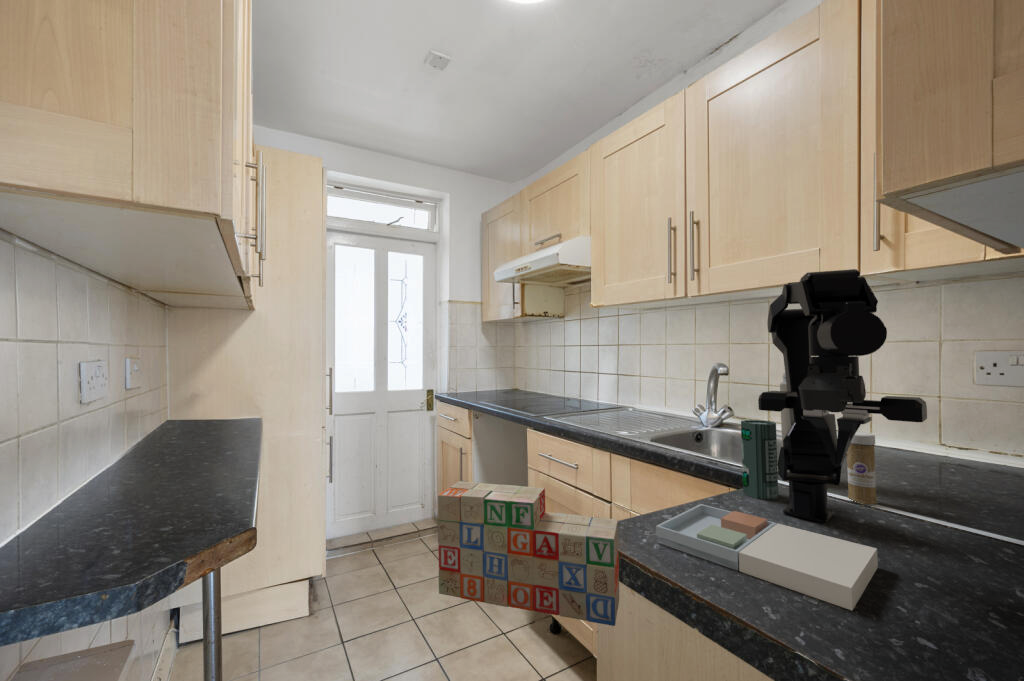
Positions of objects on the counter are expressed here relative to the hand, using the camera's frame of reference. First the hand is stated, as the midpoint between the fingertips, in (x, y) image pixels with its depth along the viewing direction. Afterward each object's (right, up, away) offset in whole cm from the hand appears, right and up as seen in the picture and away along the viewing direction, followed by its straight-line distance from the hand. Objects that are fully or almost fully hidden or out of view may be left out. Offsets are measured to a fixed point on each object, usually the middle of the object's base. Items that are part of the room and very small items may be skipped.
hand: (837, 465), depth 61 cm
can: (+5, -14, +27) cm, 31 cm away
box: (-15, -13, +5) cm, 21 cm away
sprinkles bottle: (+22, -14, +23) cm, 35 cm away
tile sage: (-16, -12, 0) cm, 20 cm away
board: (-7, -13, -4) cm, 15 cm away
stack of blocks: (-45, -13, -10) cm, 48 cm away
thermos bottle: (+21, -15, +38) cm, 46 cm away
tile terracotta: (-10, -12, +6) cm, 17 cm away
